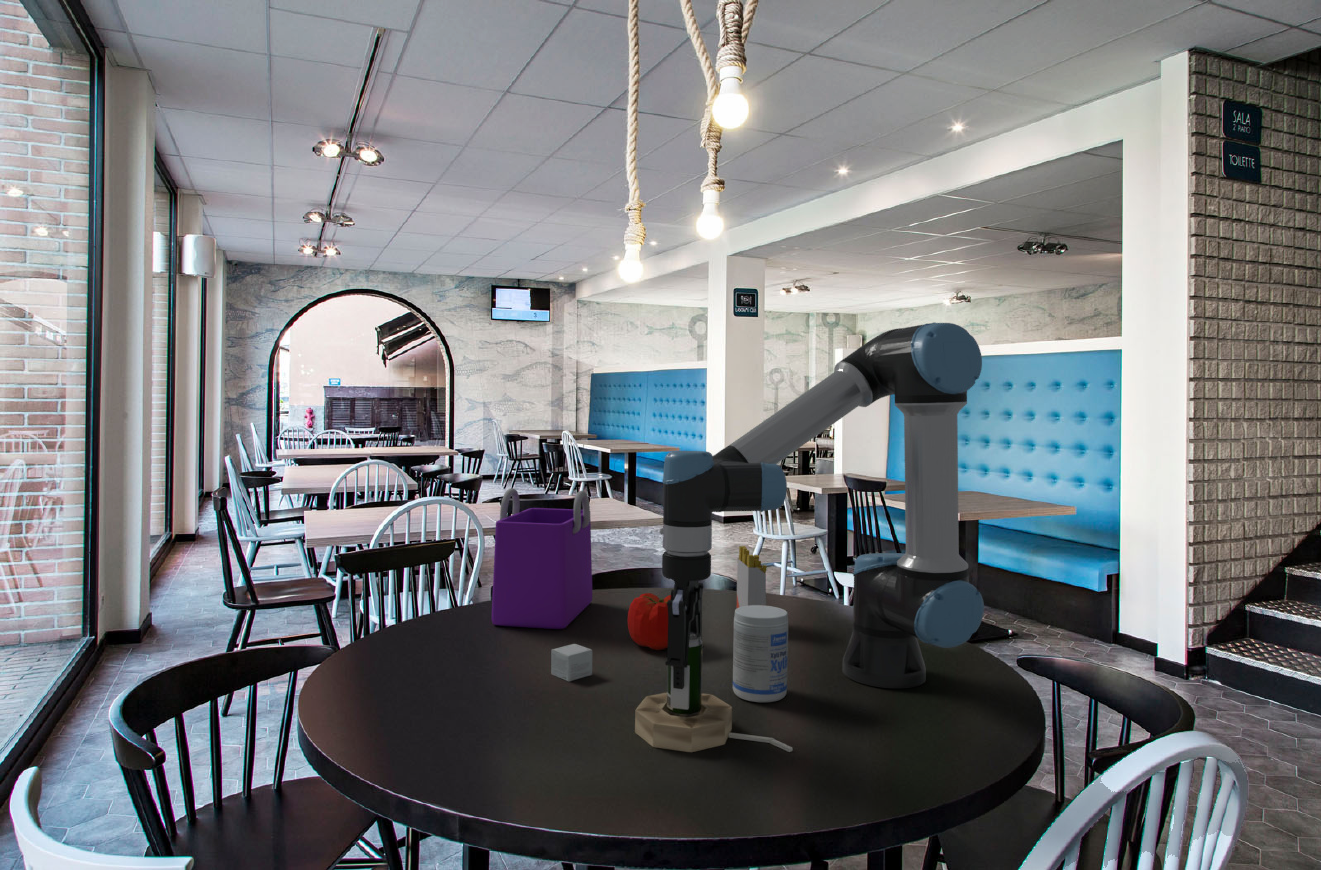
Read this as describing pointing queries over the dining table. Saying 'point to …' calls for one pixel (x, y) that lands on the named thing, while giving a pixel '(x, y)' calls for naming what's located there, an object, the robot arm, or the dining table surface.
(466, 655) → the dining table surface
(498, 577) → the shopping bag
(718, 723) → the tan octagonal bowl
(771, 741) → the drinking straw
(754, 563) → the french fries container
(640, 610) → the tomato
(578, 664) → the small box
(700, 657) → the beer can
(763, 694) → the supplement tub
